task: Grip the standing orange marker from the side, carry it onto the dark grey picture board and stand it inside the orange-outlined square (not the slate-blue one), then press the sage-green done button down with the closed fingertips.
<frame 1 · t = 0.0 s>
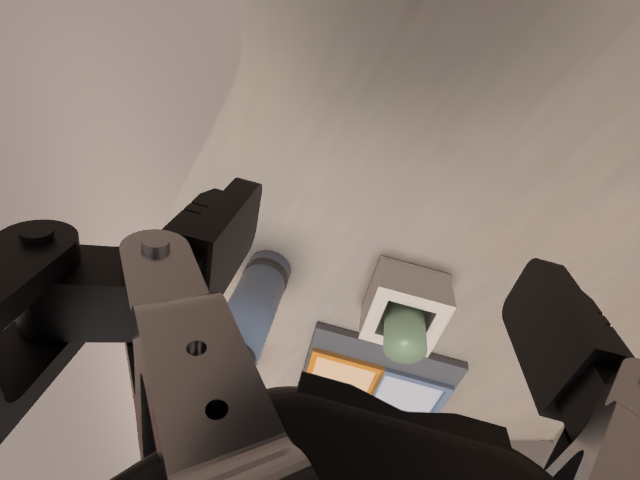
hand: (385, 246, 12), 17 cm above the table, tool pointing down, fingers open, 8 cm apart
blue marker: (269, 268, 35), on the table
done button: (404, 327, 31), point 4 cm above the table, slide at 0.0 cm
button housing: (403, 291, 34), on the table
power supply unit: (433, 476, 51), on the table
picture board: (374, 378, 41), on the table
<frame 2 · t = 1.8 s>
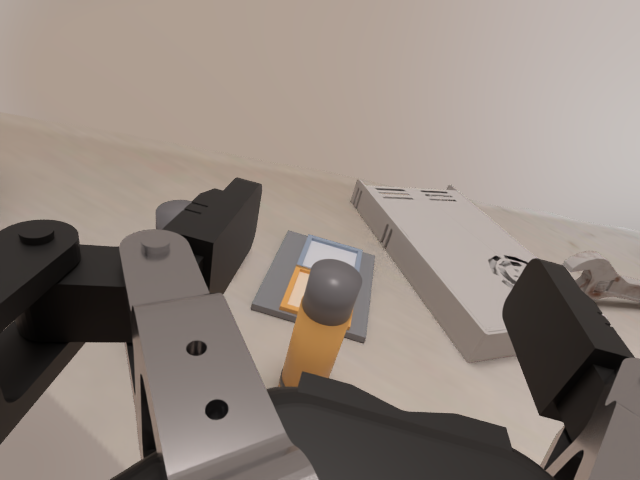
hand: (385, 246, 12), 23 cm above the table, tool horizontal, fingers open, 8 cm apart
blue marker: (178, 333, 35), on the table
wrench: (624, 307, 57), on the table
power supply unit: (448, 266, 57), on the table
picture board: (320, 281, 46), on the table
orange marker: (300, 390, 33), on the table
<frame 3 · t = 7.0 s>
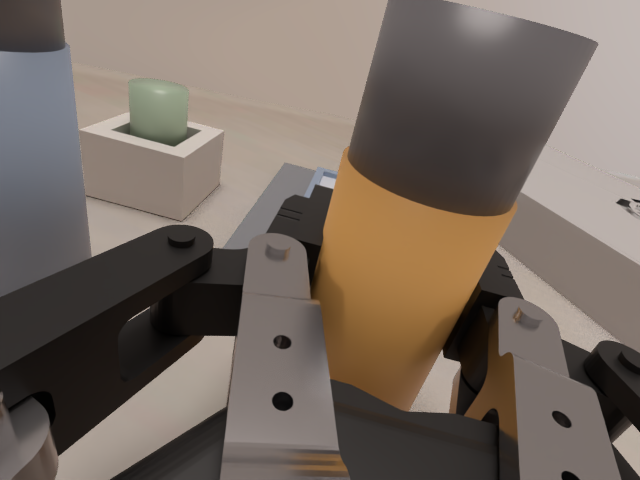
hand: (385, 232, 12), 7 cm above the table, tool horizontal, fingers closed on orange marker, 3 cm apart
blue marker: (41, 312, 15), on the table
done button: (159, 123, 24), point 4 cm above the table, slide at 0.0 cm
button housing: (159, 189, 26), on the table
power supply unit: (533, 224, 38), on the table
picture board: (342, 231, 26), on the table
orange marker: (325, 441, 13), on the table, touching gripper
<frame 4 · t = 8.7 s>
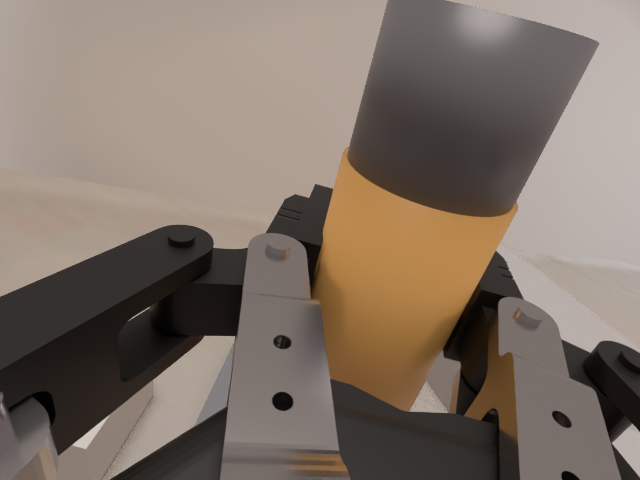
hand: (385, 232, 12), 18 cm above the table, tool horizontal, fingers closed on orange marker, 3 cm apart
button housing: (77, 424, 23), on the table
power supply unit: (514, 380, 35), on the table
picture board: (287, 465, 23), on the table
orange marker: (325, 442, 13), point 11 cm above the table, touching gripper
when the fingers open (9 cm above the table, at t = 10.9 s): orange marker stays where it is, resting on picture board.
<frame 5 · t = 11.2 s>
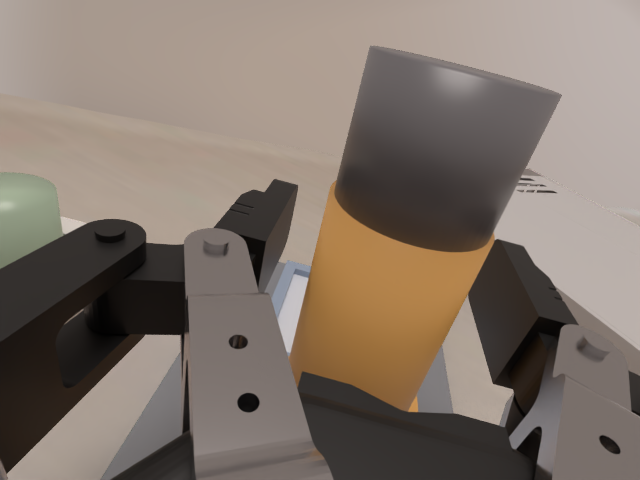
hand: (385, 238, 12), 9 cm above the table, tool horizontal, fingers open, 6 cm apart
done button: (12, 244, 15), point 4 cm above the table, slide at 0.0 cm
power supply unit: (583, 316, 29), on the table
picture board: (315, 388, 17), on the table
orange marker: (320, 456, 14), point 1 cm above the table, touching picture board
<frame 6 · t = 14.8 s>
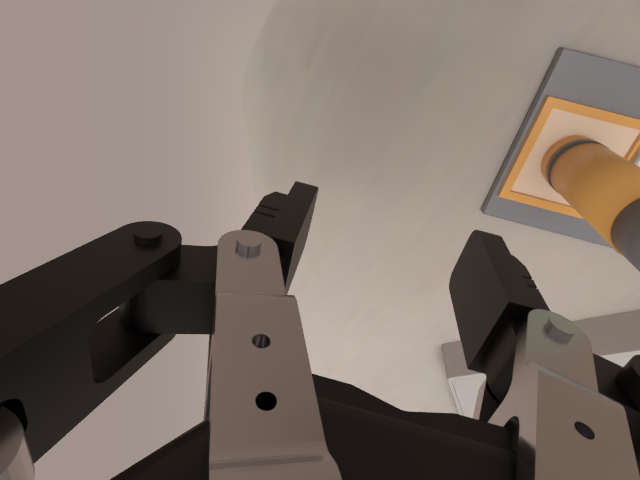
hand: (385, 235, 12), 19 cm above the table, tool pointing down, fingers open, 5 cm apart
power supply unit: (631, 377, 38), on the table
picture board: (617, 163, 28), on the table
orange marker: (570, 162, 28), point 1 cm above the table, touching picture board
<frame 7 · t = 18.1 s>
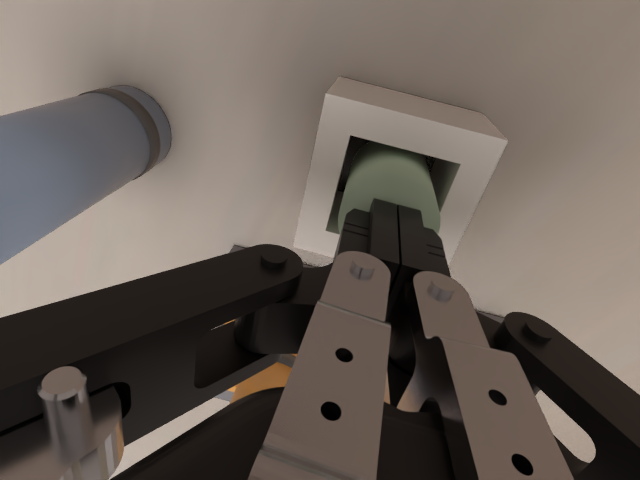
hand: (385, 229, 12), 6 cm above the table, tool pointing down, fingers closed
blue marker: (132, 128, 18), on the table
done button: (388, 196, 14), point 4 cm above the table, slide at 0.7 cm, touching gripper
button housing: (388, 163, 17), on the table
picture board: (342, 357, 24), on the table
orange marker: (281, 359, 23), point 1 cm above the table, touching picture board
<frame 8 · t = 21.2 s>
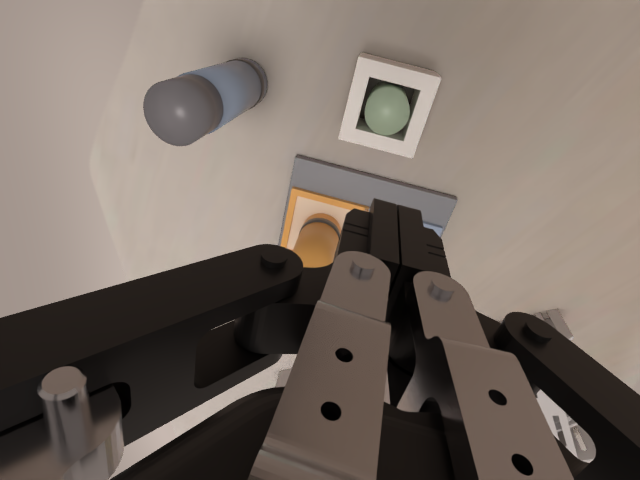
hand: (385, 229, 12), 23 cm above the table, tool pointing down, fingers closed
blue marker: (245, 82, 33), on the table
done button: (387, 106, 30), point 3 cm above the table, slide at 1.6 cm
button housing: (387, 100, 32), on the table
power supply unit: (426, 391, 49), on the table
picture board: (358, 231, 39), on the table
orange marker: (321, 230, 38), point 1 cm above the table, touching picture board
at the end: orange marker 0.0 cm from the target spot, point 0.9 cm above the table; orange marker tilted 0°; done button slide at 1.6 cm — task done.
